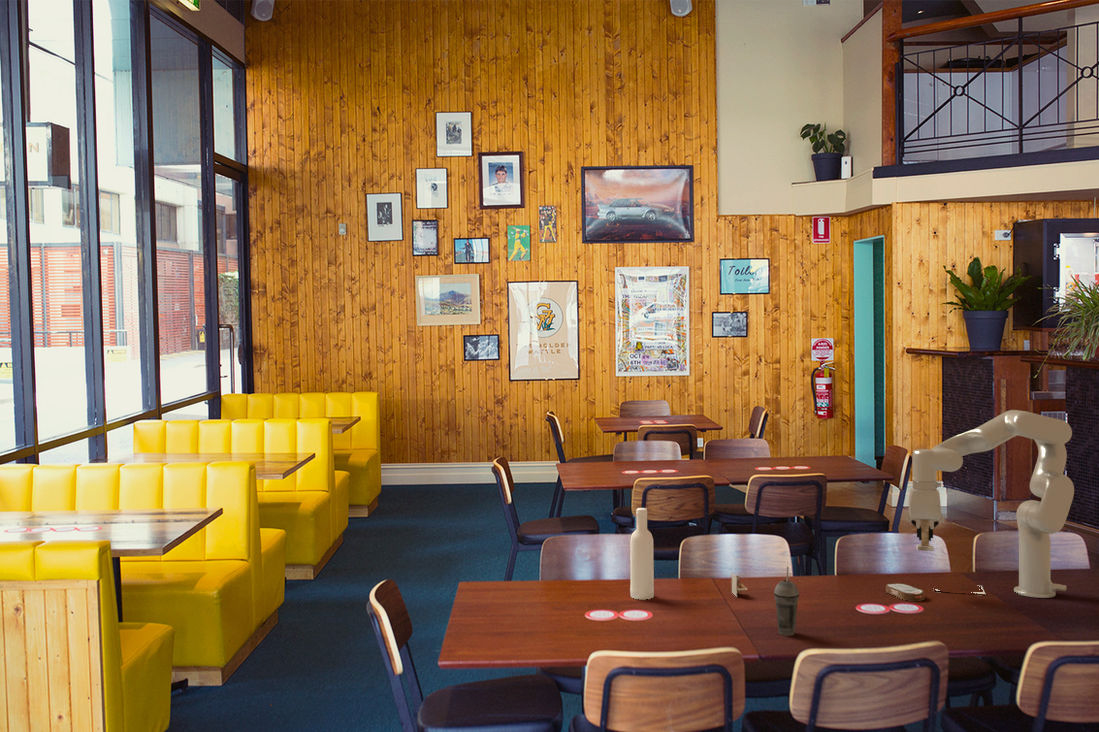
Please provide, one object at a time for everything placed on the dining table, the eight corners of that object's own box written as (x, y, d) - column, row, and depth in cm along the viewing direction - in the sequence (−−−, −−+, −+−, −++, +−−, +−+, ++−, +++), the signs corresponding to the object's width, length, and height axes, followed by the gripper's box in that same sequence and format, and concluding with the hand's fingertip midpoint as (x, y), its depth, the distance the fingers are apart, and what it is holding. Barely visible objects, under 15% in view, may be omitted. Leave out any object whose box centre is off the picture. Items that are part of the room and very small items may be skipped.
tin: (900, 589, 325) (880, 592, 323) (900, 580, 325) (879, 583, 323) (930, 600, 311) (908, 604, 308) (929, 590, 311) (908, 594, 308)
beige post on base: (932, 548, 320) (931, 515, 321) (933, 551, 312) (933, 517, 313) (916, 548, 322) (916, 515, 322) (917, 550, 314) (917, 516, 315)
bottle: (645, 601, 311) (645, 511, 311) (625, 597, 316) (625, 509, 316) (658, 596, 318) (657, 508, 317) (638, 592, 323) (638, 506, 322)
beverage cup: (795, 629, 279) (795, 562, 279) (802, 637, 272) (802, 568, 271) (771, 629, 279) (770, 563, 278) (777, 637, 271) (777, 568, 271)
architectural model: (741, 594, 322) (741, 572, 321) (747, 599, 315) (747, 577, 315) (731, 594, 321) (731, 573, 321) (737, 600, 314) (737, 578, 314)
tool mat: (981, 587, 327) (981, 585, 327) (985, 595, 316) (985, 594, 316) (932, 583, 333) (932, 582, 333) (934, 592, 321) (934, 590, 321)
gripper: (949, 485, 318) (949, 539, 318) (898, 483, 323) (899, 536, 324) (951, 488, 311) (951, 543, 311) (899, 486, 316) (899, 540, 316)
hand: (924, 539), depth 317 cm, fingers closed on beige post on base
